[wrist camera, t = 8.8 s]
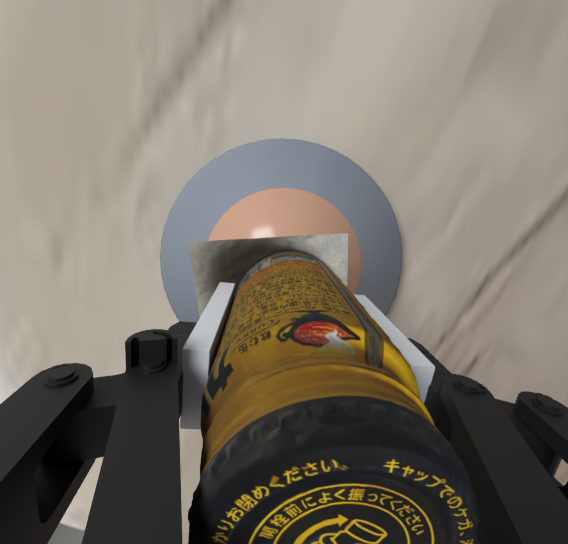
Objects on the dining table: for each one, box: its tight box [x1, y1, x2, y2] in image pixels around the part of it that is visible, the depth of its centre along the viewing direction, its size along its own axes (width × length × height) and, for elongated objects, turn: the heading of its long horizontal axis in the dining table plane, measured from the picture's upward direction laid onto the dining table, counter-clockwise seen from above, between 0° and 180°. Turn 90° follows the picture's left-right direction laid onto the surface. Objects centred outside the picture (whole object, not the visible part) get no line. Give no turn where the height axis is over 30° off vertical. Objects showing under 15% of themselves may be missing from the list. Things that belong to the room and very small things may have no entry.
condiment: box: [188, 233, 482, 544], centre depth 10 cm, size 7×8×12 cm
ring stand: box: [160, 139, 402, 322], centre depth 24 cm, size 20×20×1 cm
